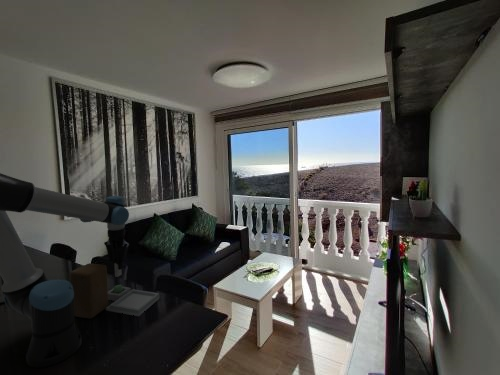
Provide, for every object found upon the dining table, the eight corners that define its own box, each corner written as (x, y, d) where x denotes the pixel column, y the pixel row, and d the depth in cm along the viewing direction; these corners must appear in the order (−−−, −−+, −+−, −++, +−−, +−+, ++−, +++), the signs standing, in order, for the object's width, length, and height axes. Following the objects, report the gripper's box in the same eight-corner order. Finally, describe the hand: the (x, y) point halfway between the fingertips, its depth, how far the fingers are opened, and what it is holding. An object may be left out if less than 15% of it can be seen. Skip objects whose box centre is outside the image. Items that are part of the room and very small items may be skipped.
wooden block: (91, 320, 104) (89, 273, 103) (71, 316, 106) (68, 271, 105) (109, 307, 114) (107, 264, 112) (90, 304, 116) (88, 262, 114)
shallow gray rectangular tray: (138, 316, 107) (138, 310, 107) (105, 310, 111) (105, 304, 111) (159, 298, 122) (159, 293, 122) (129, 293, 126) (129, 288, 126)
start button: (118, 295, 121) (118, 289, 120) (111, 294, 122) (111, 288, 121) (124, 291, 125) (124, 285, 124) (117, 290, 126) (117, 284, 125)
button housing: (119, 301, 118) (119, 295, 118) (105, 299, 120) (104, 293, 120) (131, 293, 126) (130, 287, 126) (117, 291, 128) (117, 285, 128)
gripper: (133, 227, 122) (135, 273, 125) (111, 225, 126) (113, 270, 128) (122, 231, 115) (124, 280, 117) (98, 229, 118) (101, 277, 121)
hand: (118, 275), depth 123 cm, fingers closed
